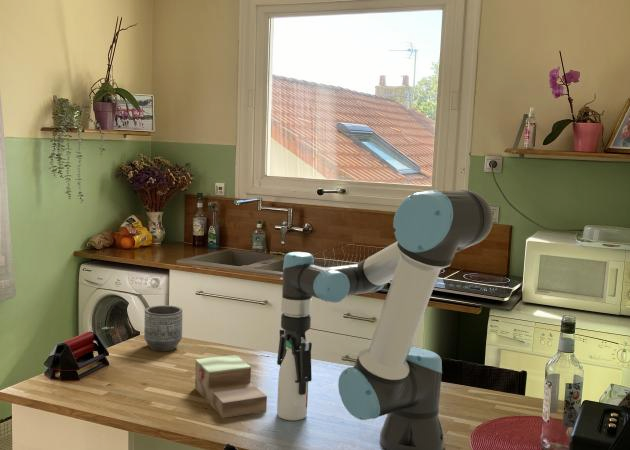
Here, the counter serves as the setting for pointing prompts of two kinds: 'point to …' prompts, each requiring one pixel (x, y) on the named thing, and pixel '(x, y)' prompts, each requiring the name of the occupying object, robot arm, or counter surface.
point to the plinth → (228, 386)
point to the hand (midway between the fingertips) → (292, 399)
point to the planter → (163, 327)
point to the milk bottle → (289, 389)
